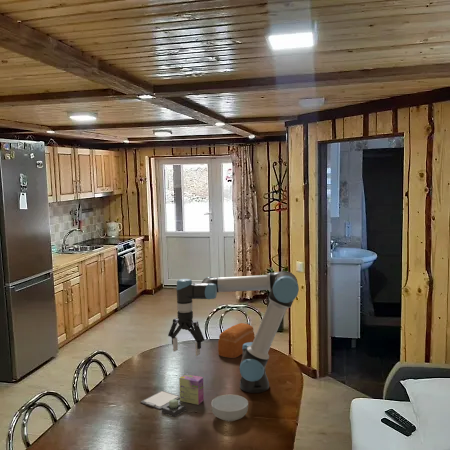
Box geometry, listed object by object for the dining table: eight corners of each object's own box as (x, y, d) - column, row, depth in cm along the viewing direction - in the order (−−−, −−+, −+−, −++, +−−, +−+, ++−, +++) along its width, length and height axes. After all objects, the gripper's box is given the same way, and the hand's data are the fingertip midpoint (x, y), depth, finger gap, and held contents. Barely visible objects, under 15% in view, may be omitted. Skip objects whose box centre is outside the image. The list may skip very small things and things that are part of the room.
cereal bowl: (236, 430, 206) (236, 414, 206) (204, 420, 215) (203, 405, 215) (255, 413, 221) (254, 398, 220) (224, 405, 230) (224, 391, 229)
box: (204, 400, 236) (203, 376, 234) (198, 405, 230) (197, 381, 229) (185, 396, 240) (184, 373, 239) (179, 401, 235) (179, 378, 234)
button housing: (186, 410, 226) (186, 405, 225) (174, 417, 219) (174, 412, 219) (173, 405, 230) (173, 400, 230) (161, 412, 224) (161, 407, 224)
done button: (180, 405, 225) (180, 400, 225) (174, 409, 222) (174, 404, 221) (173, 403, 227) (173, 398, 227) (167, 406, 224) (167, 401, 224)
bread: (216, 355, 296) (215, 330, 294) (237, 343, 318) (237, 319, 316) (235, 359, 288) (234, 333, 287) (256, 346, 310) (256, 322, 309)
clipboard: (181, 397, 239) (181, 395, 238) (159, 410, 226) (159, 407, 226) (162, 391, 246) (161, 389, 246) (140, 403, 234) (140, 400, 234)
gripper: (210, 311, 233) (211, 354, 235) (169, 306, 246) (171, 346, 248) (201, 315, 226) (203, 359, 228) (160, 309, 239) (161, 351, 241)
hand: (186, 352), depth 238 cm, fingers open, 13 cm apart
